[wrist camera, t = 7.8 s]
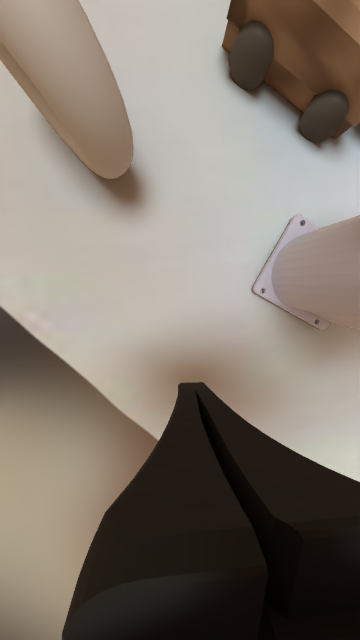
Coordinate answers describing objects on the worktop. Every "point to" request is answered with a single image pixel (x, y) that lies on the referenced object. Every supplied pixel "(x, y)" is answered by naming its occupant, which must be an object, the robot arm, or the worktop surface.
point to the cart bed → (300, 57)
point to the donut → (68, 79)
